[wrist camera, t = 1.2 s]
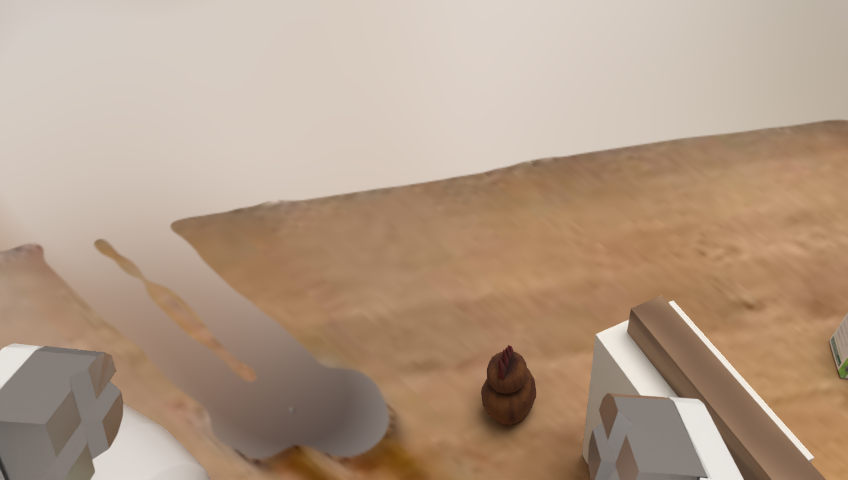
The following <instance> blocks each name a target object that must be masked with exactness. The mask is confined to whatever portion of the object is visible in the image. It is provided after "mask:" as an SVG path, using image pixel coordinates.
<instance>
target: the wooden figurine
mask: <svg viewBox="0 0 848 480" xmlns="http://www.w3.org/2000/svg"><path fill="white" fill-rule="evenodd" d="M481 394H482V402H483V406H484V407H485V409H486V410H487V412H488V413H489V414H490V415H491V416H492V418H494V419H495V420H496V421H497V422H499V423H502V424H504V425H514V424H516V423H518V422H520V421H521V420H522V419H524V418H525V417H526V415H527V414H528V412H529V411H530V409H531V408H532V405H533V403H534V400H535V398H536V387H535V380H534V378H533V376H532V374H531V373H530V371H529V369H528V368H527V365H526V362H525V360H524V359H523V357H522V356H521V355H520V354H518V353H516V352H513V349H512V346H509V345H508V348H506V349H505V350H503V352H500V353H498V354H496V355H495V356H493V357H492V359H491V360H490V362H489V364H488V368H487V379H486V381H485V383H484V385H483V387H482V391H481Z"/></svg>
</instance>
